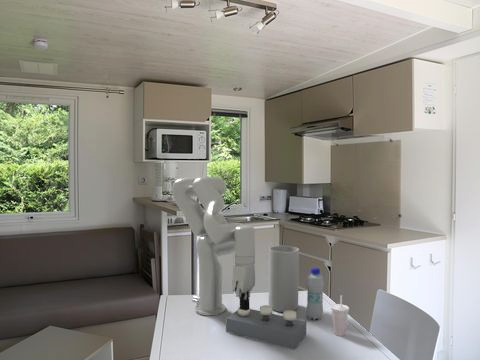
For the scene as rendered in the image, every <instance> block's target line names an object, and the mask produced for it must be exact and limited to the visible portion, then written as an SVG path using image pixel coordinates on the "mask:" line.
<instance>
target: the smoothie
mask: <svg viewBox="0 0 480 360" xmlns="http://www.w3.org/2000/svg"><path fill="white" fill-rule="evenodd" d="M330 311H331V316H332V317H331V318H332V326H333V334H334V335H336V336H338V337H343V336H345V334H346V329H347V323H348V322H347V321H348V316H349V312H350V307H349V306H348V305H346V304H343V295H340V300H339V303H334V304H332V305H331V306H330Z"/></svg>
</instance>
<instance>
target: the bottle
mask: <svg viewBox="0 0 480 360" xmlns="http://www.w3.org/2000/svg"><path fill="white" fill-rule="evenodd" d="M324 288H325V282H324V276H323V275H322V274H321V270H320V268H318V267H312V268H311V269H310V273H309V274H308V275H307V279H306V289H307V298H306V299H307V304H306V316H307V318H308V319H310V320H312V319H313V321H317V320H318V321H319V320H321V319H322V318H323V314H324V307H323V306H324V305H323V302H324V301H323V300H324V299H323V298H324V297H323V296H324ZM316 319H317V320H316Z"/></svg>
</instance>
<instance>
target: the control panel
mask: <svg viewBox="0 0 480 360" xmlns="http://www.w3.org/2000/svg"><path fill="white" fill-rule="evenodd" d="M225 332H227V333H229V334H233V335H238V336H241V337H246V338H248V339H252V340H257V341H260V342H263V343H269V344H270V345H271V344H272V345H275V346H280V347H283V348H288V349H292V350H295V349H296V348H297V347H298V346H299V344H300V343H301V342H302V340H304V338H305V337H306V336H307V320H302V319H298V318H296V319H295V320H293V326H292V327H289V326H287V320H285V319H284V318H283V315H280V314H276V313H272V314H271V315H269V321H263V315H262V314H260V310H258V309H257V310H256V309H254V308H250V314H249V315H248V316H240V315H238V309H237V310H235V311H234V312H232V313H231V314H230V315H229V316H227V317H226V318H225Z"/></svg>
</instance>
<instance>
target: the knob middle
mask: <svg viewBox="0 0 480 360" xmlns="http://www.w3.org/2000/svg"><path fill="white" fill-rule="evenodd" d="M259 311H260V314H262V315H263V321H269V315H271V314H273V310H272V307H271V306H269V305H268V304H265V305H261V306H260V307H259Z"/></svg>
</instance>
